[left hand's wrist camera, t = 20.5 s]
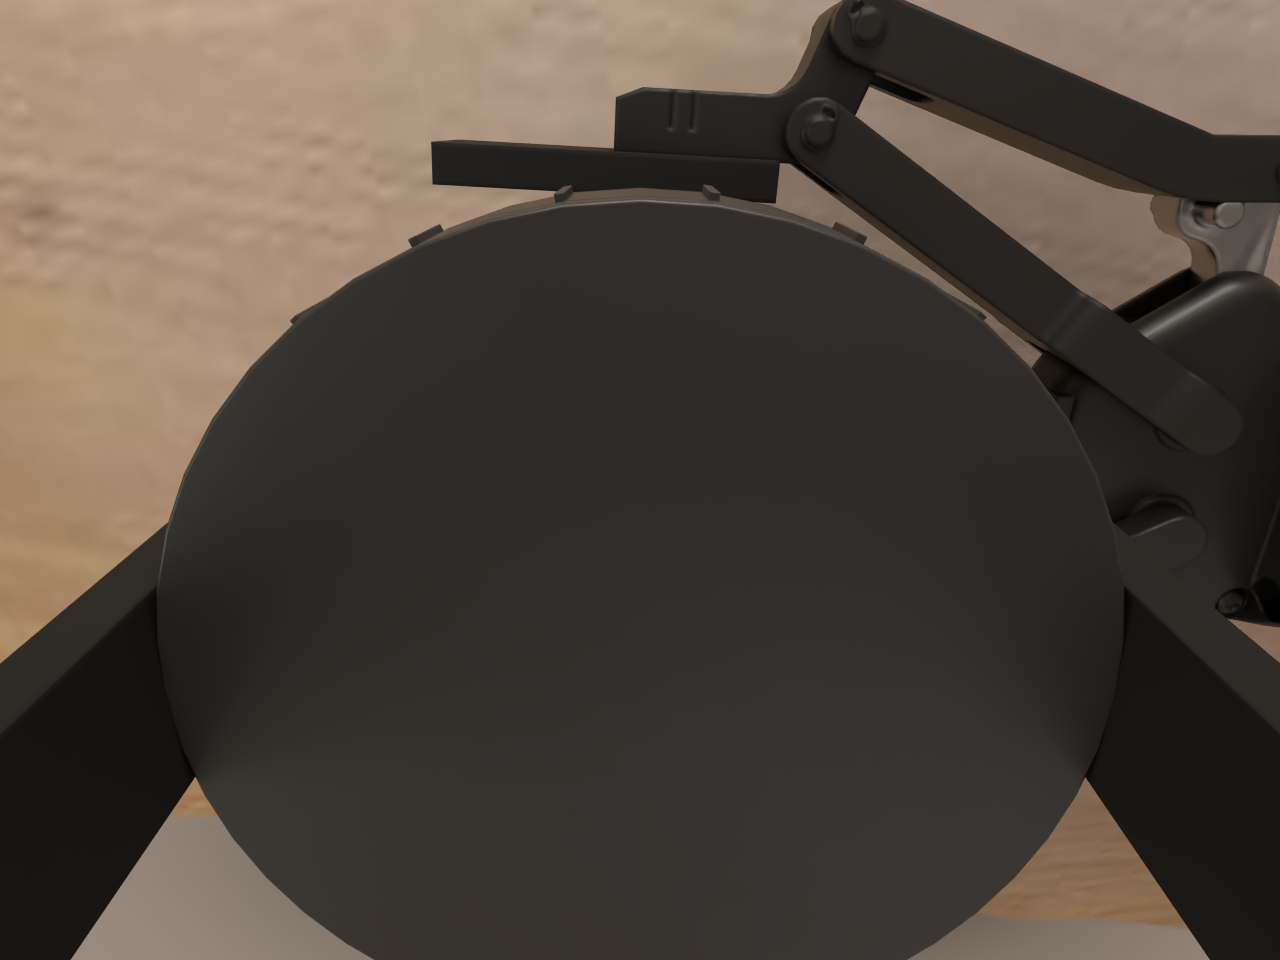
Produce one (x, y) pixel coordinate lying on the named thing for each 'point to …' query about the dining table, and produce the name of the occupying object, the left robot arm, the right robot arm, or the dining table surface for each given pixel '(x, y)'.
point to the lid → (640, 595)
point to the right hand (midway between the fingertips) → (453, 420)
